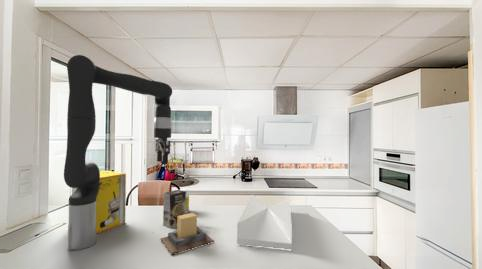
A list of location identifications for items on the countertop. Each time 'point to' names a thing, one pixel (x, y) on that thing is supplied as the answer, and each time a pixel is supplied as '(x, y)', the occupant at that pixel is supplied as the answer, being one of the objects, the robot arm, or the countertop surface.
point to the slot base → (185, 241)
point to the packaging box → (110, 200)
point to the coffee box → (173, 207)
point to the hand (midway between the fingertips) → (162, 162)
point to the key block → (186, 225)
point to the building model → (265, 225)
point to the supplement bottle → (186, 201)
